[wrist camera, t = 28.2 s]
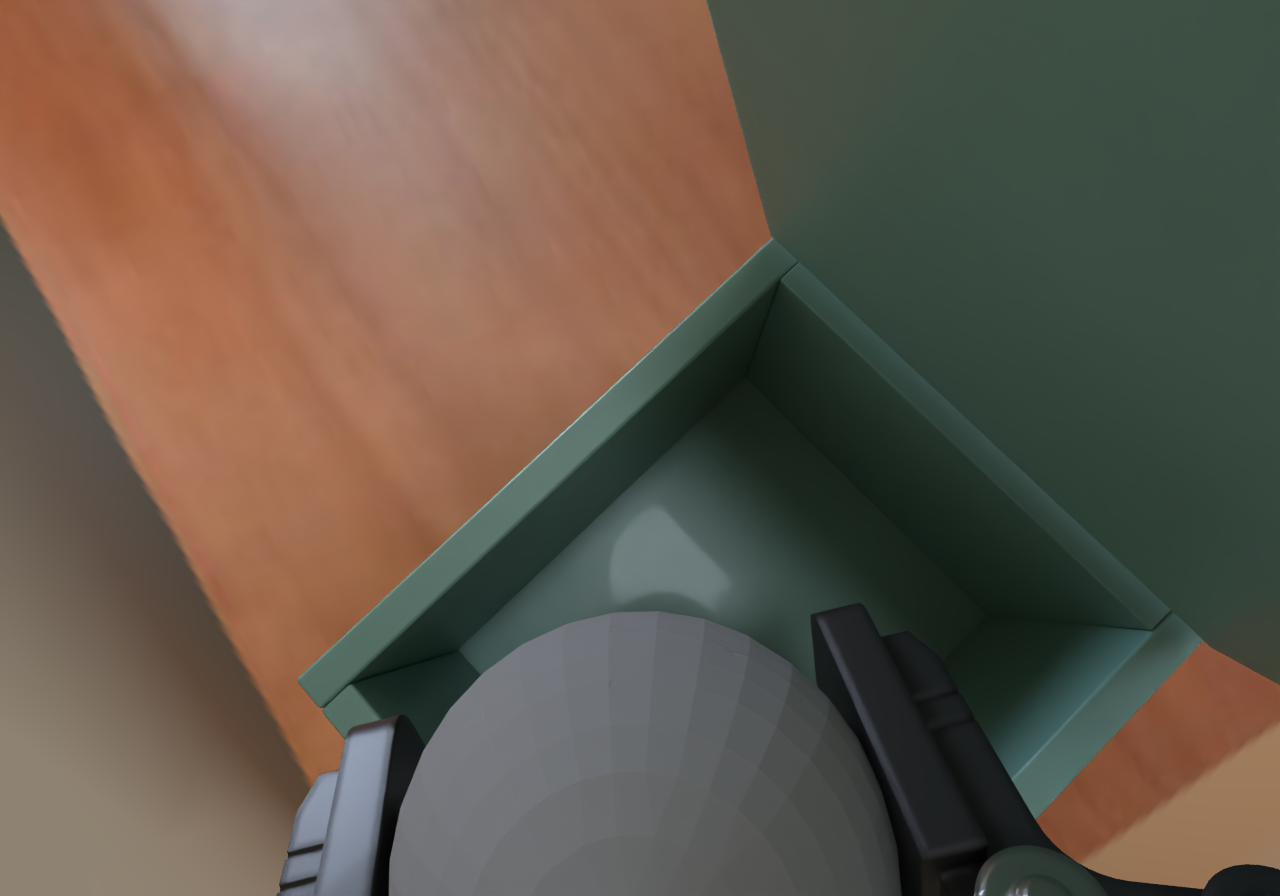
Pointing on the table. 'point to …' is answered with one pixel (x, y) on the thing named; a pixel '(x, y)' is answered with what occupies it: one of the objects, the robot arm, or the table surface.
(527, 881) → the light bulb
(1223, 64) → the lid
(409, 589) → the open box
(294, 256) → the table surface
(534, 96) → the table surface
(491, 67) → the table surface
